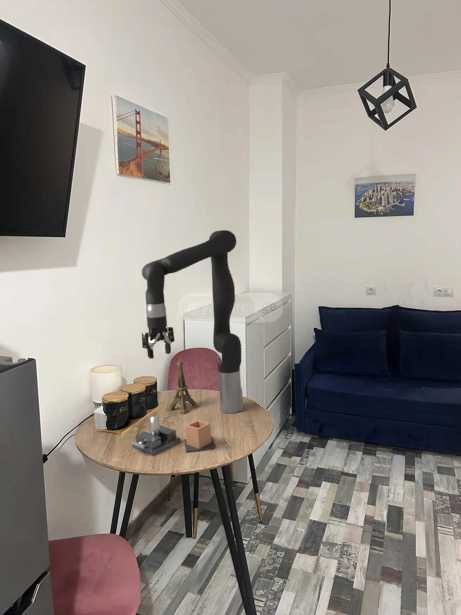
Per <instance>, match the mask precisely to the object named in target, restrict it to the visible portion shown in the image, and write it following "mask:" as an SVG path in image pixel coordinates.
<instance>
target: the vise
mask: <svg viewBox="0 0 461 615" xmlns="http://www.w3.org/2000/svg"><path fill="white" fill-rule="evenodd" d="M149 420H150V422H149V423H150V432H147V431H142V432H140V433H137V434H136V435H135V441H134V440H133V441H132V442H131V444H132V448H133V449H135V450H138V451H140V452H143V453H146V454H148V455H150V456H152V457H153V456H155V455H156V454H159V453H161V452H163V451H165V450H167V449H169V448H171V447H173V446H175V445H177V444H179V443H181V437H178V436H177V431H176V429H173V428H170V427H167V426H163V425H162V424H161V425H160V417H159V415H158V414H154V415H151V416H149Z"/></svg>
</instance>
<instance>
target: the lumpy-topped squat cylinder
mask: <svg viewBox="0 0 461 615" xmlns="http://www.w3.org/2000/svg"><path fill="white" fill-rule="evenodd" d="M93 417H94V427H95V429H96V430H98V429H107V427H106V421H107V416H106V414H105V413H104V411H103V406H102V404H101V405H100V406H99V407H97V408H95V409H94V411H93Z"/></svg>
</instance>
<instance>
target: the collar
mask: <svg viewBox="0 0 461 615" xmlns="http://www.w3.org/2000/svg"><path fill="white" fill-rule="evenodd" d="M184 427H185V439H186V441H187V445H190V446H193V447H196V448H198V449H200V448H202V447H204V446H205V445H207V444H209V443H211V436H212V431H211V430H212V429H211V423H210V422H207V421H203V420H199V419H197V420H194V421H192V422H190V423H188V424H186V425H185V426H184Z"/></svg>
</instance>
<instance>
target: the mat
mask: <svg viewBox="0 0 461 615" xmlns="http://www.w3.org/2000/svg"><path fill="white" fill-rule="evenodd" d="M215 446H216V445H215V442H214V439H213V436H212V435H211V443H209V444H207V445H205V446H204V447H202V448H200V449H198V448H196V447H193V446H190V445H187V441H186V438H184V447H185V453H186V454H187V453H195V452H203V451H211V450H216V447H215Z"/></svg>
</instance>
